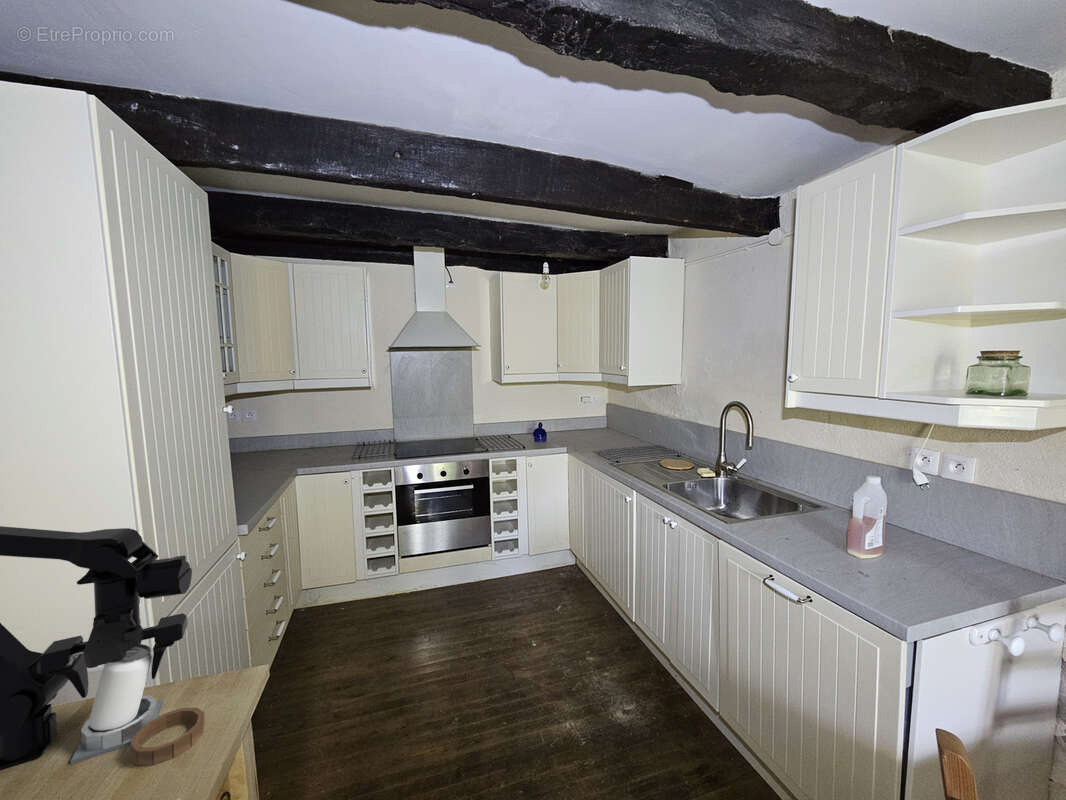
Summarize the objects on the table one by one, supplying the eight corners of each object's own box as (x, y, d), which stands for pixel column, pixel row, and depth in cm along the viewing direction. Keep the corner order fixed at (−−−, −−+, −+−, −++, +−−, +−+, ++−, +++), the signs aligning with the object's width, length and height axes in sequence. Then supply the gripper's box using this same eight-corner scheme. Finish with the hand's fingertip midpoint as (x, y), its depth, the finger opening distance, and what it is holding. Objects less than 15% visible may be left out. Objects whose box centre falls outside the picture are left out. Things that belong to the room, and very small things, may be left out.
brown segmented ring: (124, 775, 69) (123, 760, 69) (140, 733, 77) (140, 720, 77) (199, 749, 74) (199, 735, 74) (207, 712, 82) (206, 700, 82)
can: (78, 732, 73) (96, 662, 74) (103, 706, 79) (120, 641, 80) (123, 732, 75) (141, 664, 76) (145, 706, 81) (161, 643, 82)
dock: (70, 764, 71) (70, 746, 71) (92, 723, 79) (92, 707, 79) (150, 738, 76) (149, 722, 76) (163, 702, 85) (162, 688, 84)
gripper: (17, 641, 65) (22, 740, 66) (175, 607, 75) (178, 694, 75) (50, 608, 75) (54, 695, 75) (186, 582, 84) (189, 660, 85)
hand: (120, 686), depth 77 cm, fingers open, 9 cm apart
